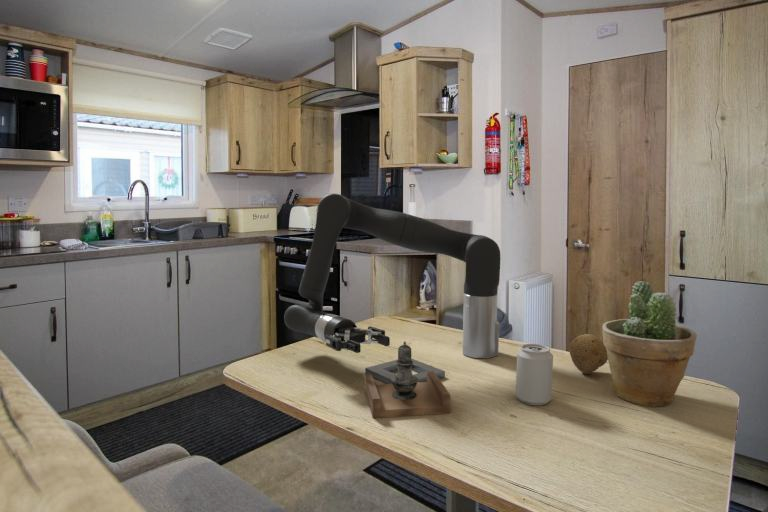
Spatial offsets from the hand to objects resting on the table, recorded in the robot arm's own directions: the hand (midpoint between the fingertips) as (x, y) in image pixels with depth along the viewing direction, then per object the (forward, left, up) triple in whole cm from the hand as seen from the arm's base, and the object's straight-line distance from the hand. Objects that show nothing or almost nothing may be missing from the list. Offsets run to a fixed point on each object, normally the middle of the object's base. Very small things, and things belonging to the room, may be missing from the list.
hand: (374, 345), depth 119 cm
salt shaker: (-5, +9, -9) cm, 14 cm away
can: (-33, +13, -10) cm, 37 cm away
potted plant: (-58, +15, -10) cm, 61 cm away
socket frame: (-8, -6, -10) cm, 15 cm away
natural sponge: (-54, -1, -10) cm, 55 cm away
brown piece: (-5, +10, -10) cm, 15 cm away
